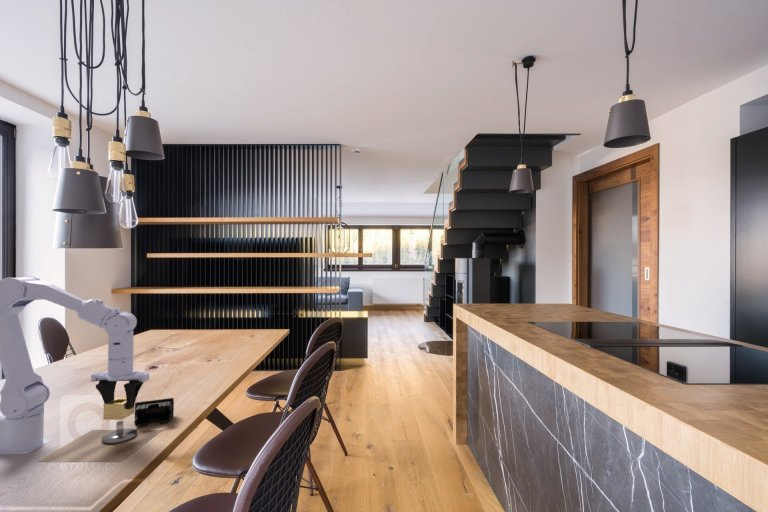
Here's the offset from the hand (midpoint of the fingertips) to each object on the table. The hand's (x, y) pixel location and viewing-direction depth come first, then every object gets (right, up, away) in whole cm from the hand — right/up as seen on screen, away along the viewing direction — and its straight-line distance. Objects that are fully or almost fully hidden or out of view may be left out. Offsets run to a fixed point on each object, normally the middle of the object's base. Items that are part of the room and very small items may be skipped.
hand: (120, 407), depth 107 cm
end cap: (+3, -9, +11) cm, 14 cm away
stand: (0, -8, 0) cm, 8 cm away
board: (-1, -9, -4) cm, 10 cm away
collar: (0, -2, 0) cm, 2 cm away
